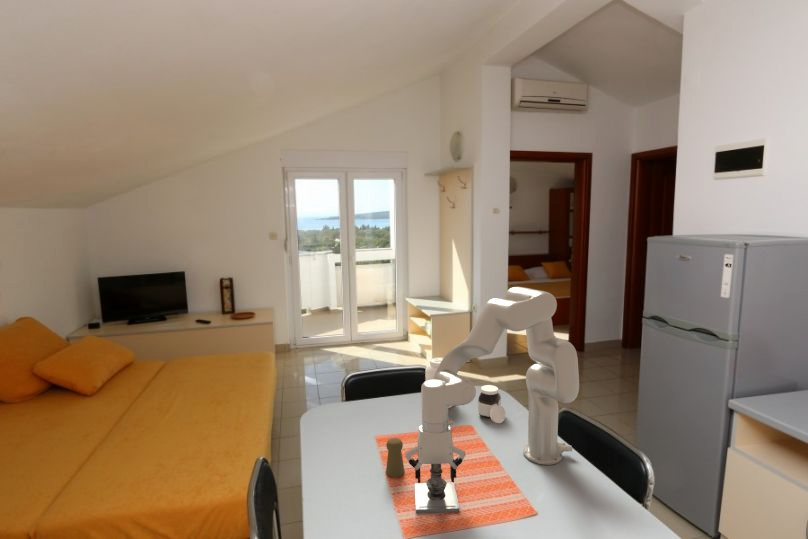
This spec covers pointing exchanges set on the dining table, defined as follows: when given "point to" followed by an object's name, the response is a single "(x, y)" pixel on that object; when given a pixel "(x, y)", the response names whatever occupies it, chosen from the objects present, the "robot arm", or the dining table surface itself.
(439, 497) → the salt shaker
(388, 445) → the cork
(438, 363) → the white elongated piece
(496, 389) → the spread jar
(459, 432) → the dining table surface
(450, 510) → the coaster
